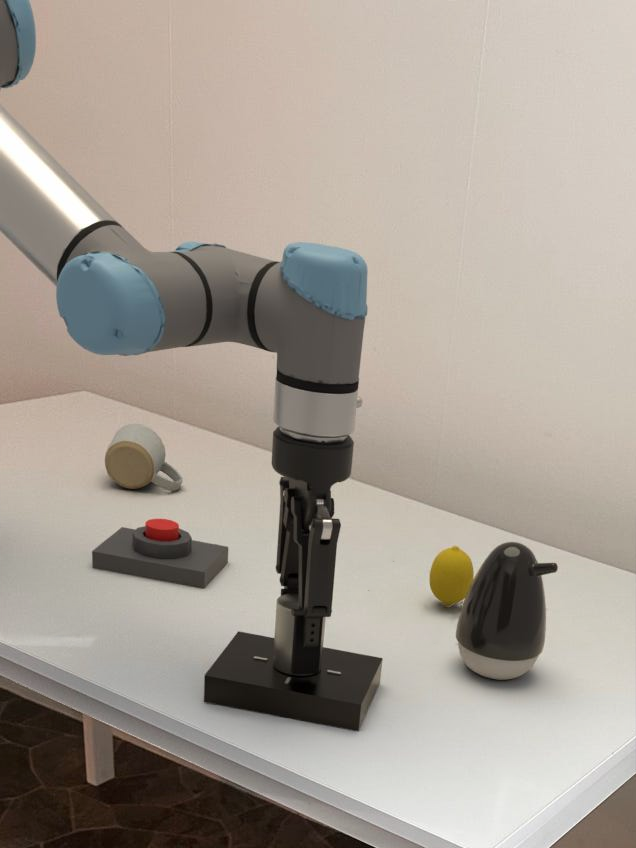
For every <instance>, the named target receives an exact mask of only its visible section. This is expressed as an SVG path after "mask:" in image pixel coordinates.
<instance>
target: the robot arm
mask: <svg viewBox="0 0 636 848" xmlns="http://www.w3.org/2000/svg"><path fill="white" fill-rule="evenodd" d="M36 30H37V29H36V22H35V17H34V13H33V9H32V4H31V1H30V0H0V90H2V89H8V88H12V87H14V86H16V85H18V84H19V83H20V81H23V80H25V79H26V78H27V76H28V75H29V74H30V72H31V70H32V67H33V65H34V61H35V56H36V48H37V33H36V32H37V31H36ZM0 232H1V233H2V234H3V235H4V236H5V237H6V238H7V239H8V241H10V242H11V244H13V245H14V246H15V247H16V248H17V249H18V250H19V251H20V252H21V253H22V254H23V256H25V258H27V259H28V260H29V261H30V262H31V263H32V264H33V265H34V266H35V268H36V269H38V270H39V272H40V273H41V274H42V275H43V276H45V278H47V279H48V280H49V281H50V283H52V284H53V286H54V287H55V288H56V289H55V300H56V306H57V310H58V314H59V317H60V318H62V319H63V321H64V324H65V326H66V331H67V333H68V335H69V336H70V337H71V339H72V340H73V341H74V342H75V343H76V344H77V345H79V347H81V348H82V349H84V350H86V351H88V352H89V353H92V354H95V355H100V356H117V355H118V356H124V357H128V356H139V355H142V354H147V353H151V352H157V351H165V350H170V349H177V348H190V347H198V346H206V345H212V344H222V343H236V344H241V345H245V346H249V347H252V348H256V349H260V350H263V351H265V352H269V353H275V354H276V375H275V379H274V381H275V383H274V400H273V416H272V417H273V418H272V420H273V422H274V424H275V425H276V426H277V427H276V428H275V430H274V431H272V446H271V448H272V449H271V466H272V469H273V470H274V471H275V472H276V473H277V474H279V475H280V476H281V477H280V478H279V479H280V480H279V481H278V482H279V483H278V484H279V494H280V495H279V496H280V497H279V498H280V499H279V501H280V502H279V517H278V533H277V546H276V547H277V548H276V562H275V571H276V573H277V574H278V575H280V576H279V583H280V587H283V588H280V596H282V595H285V594H291V593H299V607H298V609H291V612H292V616H295V618H294V632H293V647H292V661H291V672H292V674H318V673H319V661H320V649H321V637H322V625H323V617H326V618H331V616H332V612H333V598H334V586H335V585H334V584H335V574H336V573H335V572H336V562H337V547H338V541H339V536H340V533H341V532H340V531H341V528H342V523H341V519H339V518H334V515H335V499H334V497H332V490H331V489H332V487H333V486H334V485H335V484H337V483H342V482H345V481H347V480H348V479H349V478H350V477H351V475H352V469H353V457H354V446H355V443H354V440H353V438H352V437H351V434H353V433H354V432H355V429H356V418H357V409H358V408H361V407H362V406H363V399H362V397H361V396H358V395H359V384H360V382H359V381H360V368H361V360H362V350H363V340H364V331H365V324H366V317H367V316H368V309H369V308H368V304H367V301H368V300H367V298H368V265H367V262H366V260H365V259H364V258H363V256H361V255H360V254H359V253H357V252H355V251H352V250H350V249H346V248H343V247H338V246H330V245H326V244H321V243H315V242H300V241H299V242H292V243H288V244H286V246H285V248H284V249H283V252H282V260H281V261H275V260H272V259H268V258H264V257H261V256H258V255H257V256H256V255H253V254H250V253H246V252H242V251H239V250H234V249H231V248H227V247H226V246H225V245H223V244H218V243H204V242H198V241H186V242H183V243H181V244H180V245H178V246H177V248H175V250H173V251H151V250H148V249H147V248H145V246H143V245H142V244H141V243H140V242H139V241H138V240H137V239H136V238H135V237H134V236H133V235H132V234H131V233H130V232H129V231H128V230H126V228H125V227H123V225H121V224H120V223H119V222H118V220H116V219H115V217H114V216H113V215H112V214H110V213H109V212H108V210H106V208H105V207H103V206H102V205H101V203H100V202H98V201H97V200H96V199H95V197H93V196H92V195H91V193H90V192H89V191H88V190H87V189H85V187H83V186H82V184H81V183H80V182H78V181H77V179H75V177H73V176H72V174H71V173H70V172H69V171H68V170H67V169H66V168H65V167H63V165H62V164H61V163H60V162H59V161H58V160H57V159H56V158H55V157H54V156H53V155H51V153H49V151H48V150H47V149H46V148H45V147H44V146H43V145H42V144H40V142H39V141H38V140H37V139H36V138H35V137H34V136H33V135H32V134H31V133H30V132H29V131H28V130H27V129H26V128H25V127H24V126H23V125H22V123H20V122H19V121H18V120H17V119H16V118H15V117H14V116H13V115H12V114H11V113H10V112H9V111H8V110H7V109H6V108H5V107H4V106H3V105H2V104H1V103H0Z"/></svg>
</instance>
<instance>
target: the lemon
mask: <svg viewBox="0 0 636 848" xmlns="http://www.w3.org/2000/svg"><path fill="white" fill-rule="evenodd" d="M474 573H475V571H474V565H473V561H472V559H471V558H470V556H469V555H468V554H467V553H466V551H464V550H463V549H461V548H460V547H459V546H457V545H453V546H451V547H448V548H445V549H443V550H442V551H440V552H439V553H438V554H436V556H435V558H434V559H433V561H432V564H431V566H430V571H429V587H430V591H431V593H432V594H433V597H435V598H436V599H437V600H438V601H439V602H441V603H442V605H444V607H447V608H450V607H451V606H453V605H454V604H458V603H460V602H462V601H464V600H465V597H466V595H467V592H468V590H469V588H470V585H471V583H472V581H473V579H474V577H475V575H474Z"/></svg>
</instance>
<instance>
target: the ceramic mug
mask: <svg viewBox="0 0 636 848" xmlns="http://www.w3.org/2000/svg"><path fill="white" fill-rule="evenodd" d="M104 466H105V470H106V472H107V474H108V476H109V477H110V479H111V480H112V481H113V482H114V483H115V484H117V485H118V486H120V487H122V488H124V489H129V490H139V489H142V488H144V487H145V486H147V485H149V484H150V483H152V484H153V485H155V486H158V487H159V488H162V489H163V490H166V491H170V492H176V491H178V490H179V489H180V487H181V485H182V483H183V481H184V478H183V476H182V474H181V473H180V472H179V471H178V470H177V469H176V468H175V467H173V466H172V465H171V464H170V463H168V462H167V461H166V448H165V445H164V442H163V440H162V438H161V437H160V436H159V435H158V433H156V431H155V430H154V429H152V428H150V427H149V426H147V425H144V424H140V423H128V424H125V425H123V426H121V427H119V428H118V430H117V431H116V432H115V434H114V435H113V438H112V439H111V441H110V443H109V445H108V446H107V449H106V452H105V456H104ZM159 472H162V473H163V474H165V475H166V476H167V477H169V478H170V479H167V478H165V477H164V476H162V475H160V474H159Z"/></svg>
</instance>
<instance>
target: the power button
mask: <svg viewBox="0 0 636 848" xmlns="http://www.w3.org/2000/svg"><path fill="white" fill-rule="evenodd" d="M144 524H145V525H144V526H145V537H146V538H149V539H151V540H156V541H174V540H178V539H179V528H180V525H179V523H178V522H177V521H174V520H171V519H167V518H152V519H148V520H146V521H145V523H144Z"/></svg>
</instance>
